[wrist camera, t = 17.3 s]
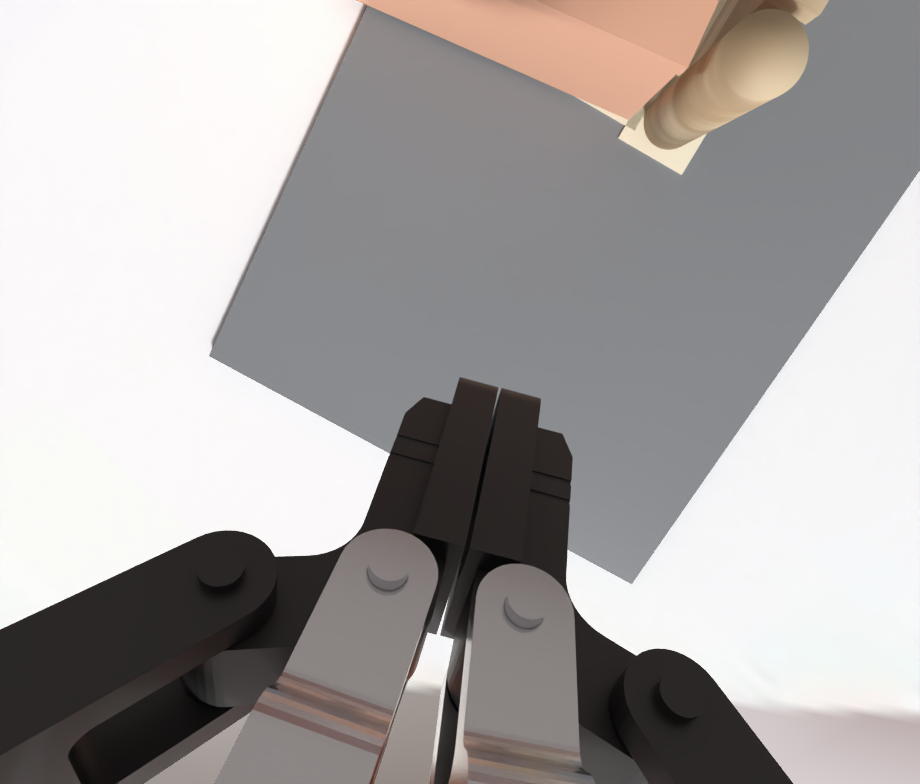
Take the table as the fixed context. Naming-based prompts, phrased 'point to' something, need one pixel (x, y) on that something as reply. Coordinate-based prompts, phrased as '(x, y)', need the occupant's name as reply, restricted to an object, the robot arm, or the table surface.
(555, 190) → the card
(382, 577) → the robot arm
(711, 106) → the fence post section
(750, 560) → the table surface
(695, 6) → the swing fence panel
